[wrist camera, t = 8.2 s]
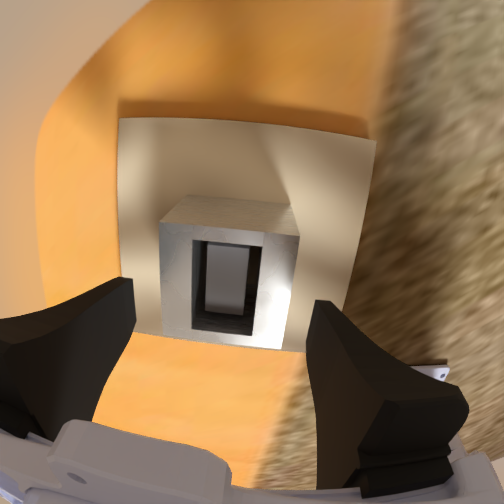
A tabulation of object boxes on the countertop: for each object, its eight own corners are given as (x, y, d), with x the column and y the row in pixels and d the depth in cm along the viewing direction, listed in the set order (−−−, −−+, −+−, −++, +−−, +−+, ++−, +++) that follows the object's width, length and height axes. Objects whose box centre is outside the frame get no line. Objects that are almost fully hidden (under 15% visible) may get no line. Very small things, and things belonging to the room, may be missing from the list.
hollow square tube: (277, 295, 19) (280, 348, 15) (185, 285, 19) (163, 335, 15) (291, 204, 17) (300, 235, 12) (187, 194, 17) (158, 222, 12)
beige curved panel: (326, 343, 22) (338, 395, 17) (133, 321, 22) (107, 367, 17) (370, 139, 17) (407, 147, 12) (127, 117, 17) (82, 119, 12)
